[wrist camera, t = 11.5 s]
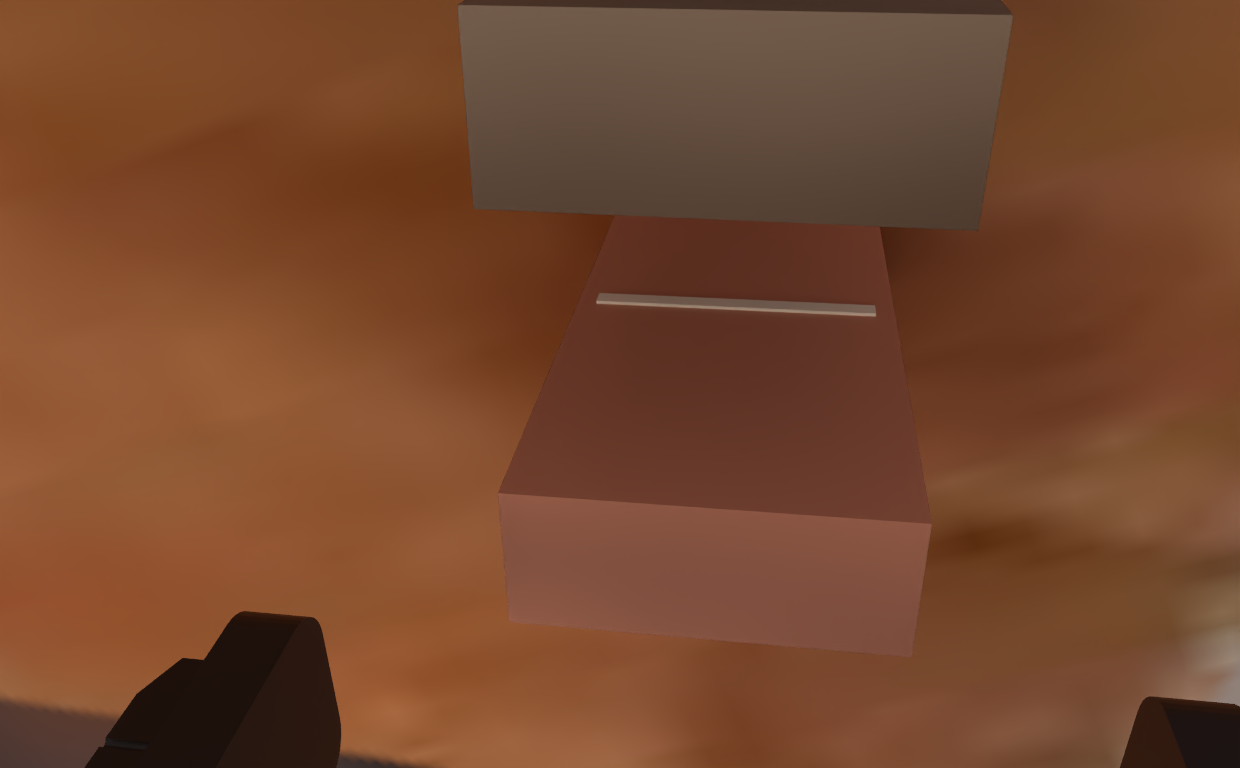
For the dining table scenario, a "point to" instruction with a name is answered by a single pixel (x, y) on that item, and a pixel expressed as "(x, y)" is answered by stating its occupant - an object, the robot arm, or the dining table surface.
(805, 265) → the end tile
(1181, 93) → the dining table surface
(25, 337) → the dining table surface
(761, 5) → the tile
